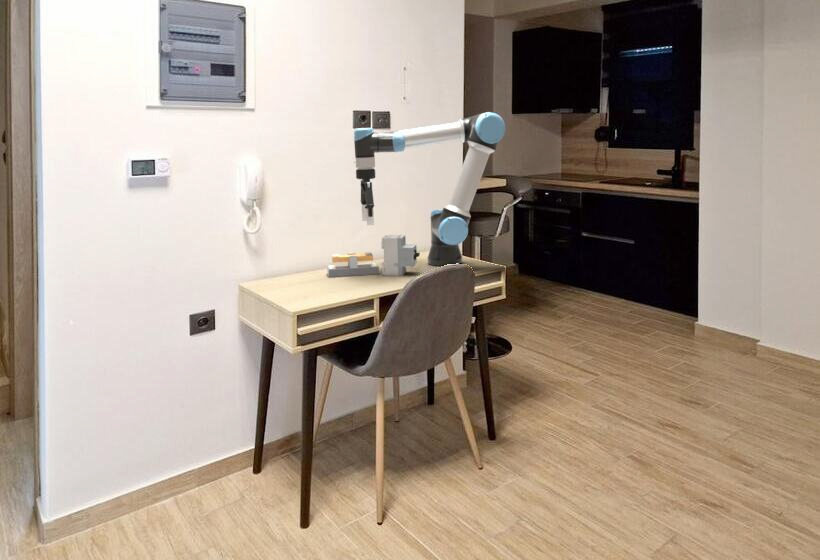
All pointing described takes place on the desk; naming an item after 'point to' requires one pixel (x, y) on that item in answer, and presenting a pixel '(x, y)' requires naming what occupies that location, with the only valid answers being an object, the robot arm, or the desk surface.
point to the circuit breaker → (397, 255)
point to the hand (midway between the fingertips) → (368, 223)
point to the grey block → (352, 268)
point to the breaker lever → (345, 258)
